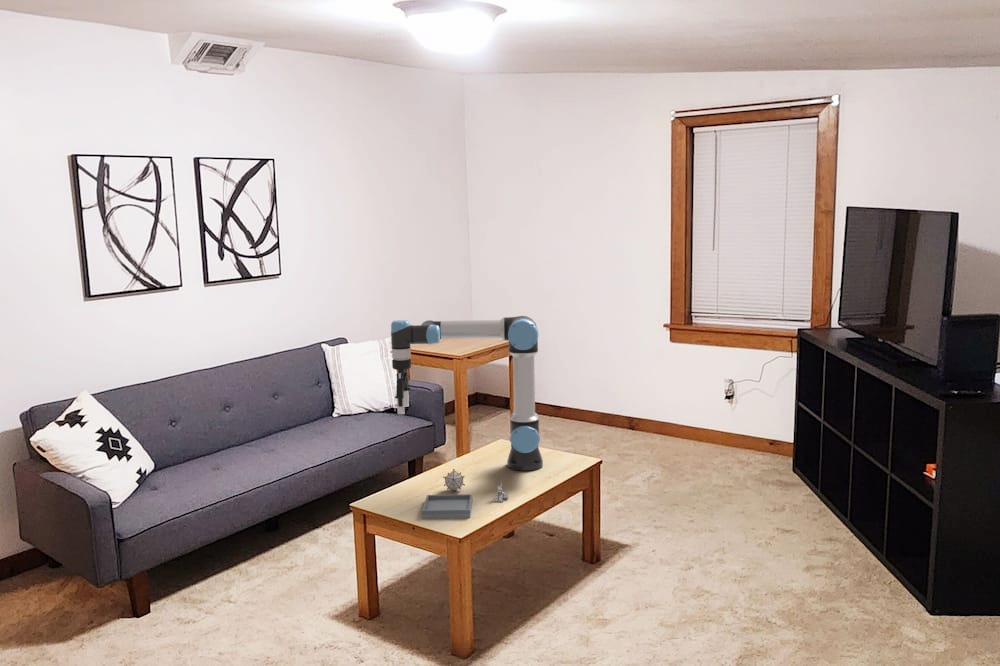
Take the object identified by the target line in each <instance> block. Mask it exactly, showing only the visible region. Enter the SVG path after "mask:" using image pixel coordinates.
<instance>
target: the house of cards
mask: <svg viewBox="0 0 1000 666" xmlns="http://www.w3.org/2000/svg"><path fill="white" fill-rule="evenodd" d="M496 492H497V493H496V494H495V495H494V499H493V501H492V503H504V500H505V501H508V499H509V493H508V492H505V491H503V484H502V481H497V491H496Z"/></svg>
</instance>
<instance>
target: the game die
mask: <svg viewBox="0 0 1000 666" xmlns="http://www.w3.org/2000/svg"><path fill="white" fill-rule="evenodd" d="M442 477H443V479H444V485H443V486H444V487H447V488H446V490H451V491H453V492H456V491H457V490H461V488H462V486H466V484H465V483H464V478H465V477H466V476H465V475H462V472H458V471H456V470H455V468H453V469H452V471H451V472H450V473H449V472H447V475H446V476H442Z"/></svg>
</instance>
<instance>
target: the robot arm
mask: <svg viewBox="0 0 1000 666" xmlns="http://www.w3.org/2000/svg"><path fill="white" fill-rule="evenodd" d="M390 339H391V340H390V341H391V350H390V354H391V356H392V357H391V358H392V360H391V364H392V365H391V366H392V369H393V370H396V371H398V372H397V373H396V394H395V396H394V398H395V399H396V406H397V410H396V411H397V415H405V411H406V410H405V408H407V407H408V408H409V407H410V401H409V400H410V399H409V398H410V397H409V395H410V394H409V391H411V387H410V386H409V385H410V384H409V376H408V370H409V369H411V367H412V359H411V358H412V353H411V352H412V351H411V349H412V348H411V345H434V344H439V343H440V340H458V339H460V340H464V339H467V340H468V339H470V340H471V339H501V340H503V341H508V352H509V354H510V355H511V356H512V377H513V378H512V379H513V381H512V384H513V385H512V386H513V389H512V390H513V413H511V414H510V419H509V421H510V423H509V424H510V426H509V427H510V428H509V429H510V436H509V437H510V438H509V441H510V451H509V453H508V458H507V461H506V462H507V463H506V464H507V466H506V467H507V468H509V469H511V470H514V471H534V470H538V469H541V468H543V466H544V463H543V462H544V461H543V457H542V454H541V452H540V447H539V443H540V442H541V441H540V440H541V438H540V418H539V415H538V413H537V412H536V396H535V394H536V392H535V391H536V390H535V388H536V385H535V355H537V353H538V352H539V342H538V341H539V330H538V327H537V324H536V322H535V321H534V319H533V318H531V317H529V316H526V315H519V316H518V315H517V316H511V317H506V316H505V317H502V318H501V319H489V320H488V319H486V320H481V319H480V320H479V319H478V320H440V321H439V320H438V321H437V320H426V321H423V322H422V323H421V324H419V325H412V324H411V323H410V321H409V320H407V319H406V320H405V319H402V320H401V319H399V320H397V319H396V320H393V321H392V322H391V323H390Z"/></svg>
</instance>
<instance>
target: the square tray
mask: <svg viewBox="0 0 1000 666" xmlns="http://www.w3.org/2000/svg"><path fill="white" fill-rule="evenodd" d="M473 499H474V498H473V494H471V493H470V494H426V497H425V500H424V504H423V506H422V509H421V515H422V516H421V518H422V519H471V517H472V515H471V514H472V510H473V509H472V507H473Z"/></svg>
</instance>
